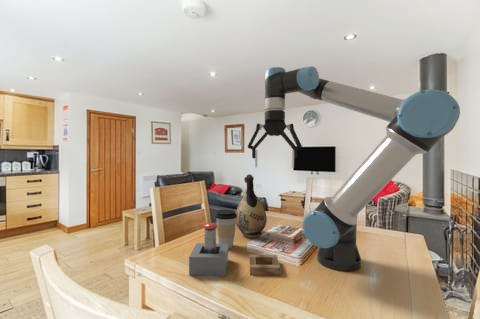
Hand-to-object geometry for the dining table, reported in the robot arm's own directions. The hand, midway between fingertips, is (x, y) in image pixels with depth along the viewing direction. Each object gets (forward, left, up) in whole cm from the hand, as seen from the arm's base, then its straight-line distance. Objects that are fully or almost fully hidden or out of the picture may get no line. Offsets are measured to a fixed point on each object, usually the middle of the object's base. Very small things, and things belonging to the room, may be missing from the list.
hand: (274, 167), depth 93 cm
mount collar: (+4, +8, -35) cm, 36 cm away
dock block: (+23, +8, -35) cm, 42 cm away
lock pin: (+23, +8, -35) cm, 42 cm away
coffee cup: (+19, -11, -35) cm, 41 cm away
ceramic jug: (+8, -26, -35) cm, 44 cm away
